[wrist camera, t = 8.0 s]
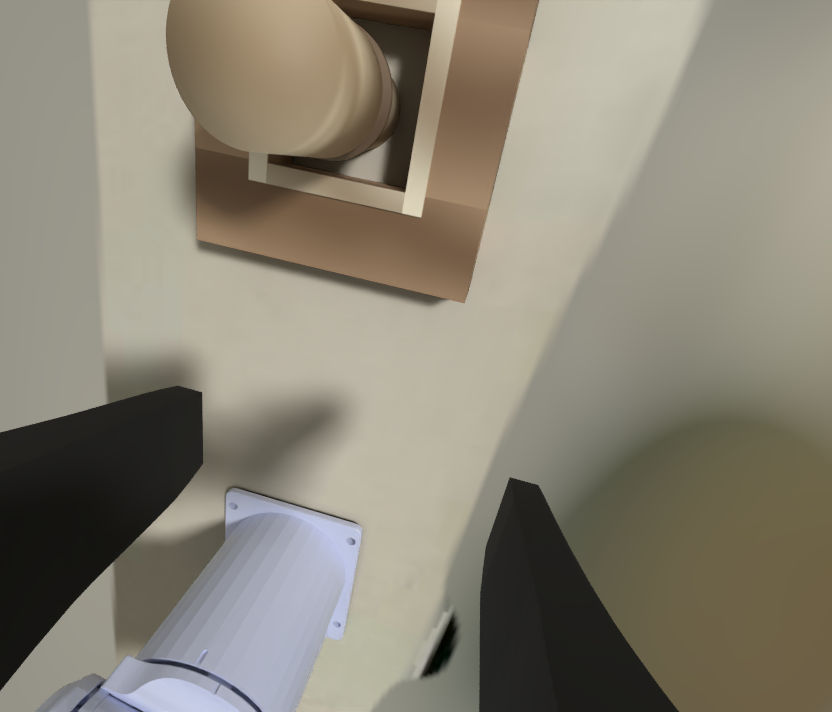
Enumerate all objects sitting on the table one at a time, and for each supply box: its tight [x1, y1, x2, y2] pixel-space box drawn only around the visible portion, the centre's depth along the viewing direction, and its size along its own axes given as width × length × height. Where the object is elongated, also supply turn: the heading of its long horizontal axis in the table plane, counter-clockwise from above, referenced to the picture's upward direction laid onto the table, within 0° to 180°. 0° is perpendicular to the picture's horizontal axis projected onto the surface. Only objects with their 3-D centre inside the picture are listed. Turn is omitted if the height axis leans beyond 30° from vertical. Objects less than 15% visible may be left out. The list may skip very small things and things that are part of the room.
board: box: [195, 0, 539, 303], centre depth 16 cm, size 12×11×2 cm
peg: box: [166, 0, 400, 161], centre depth 13 cm, size 4×4×8 cm
